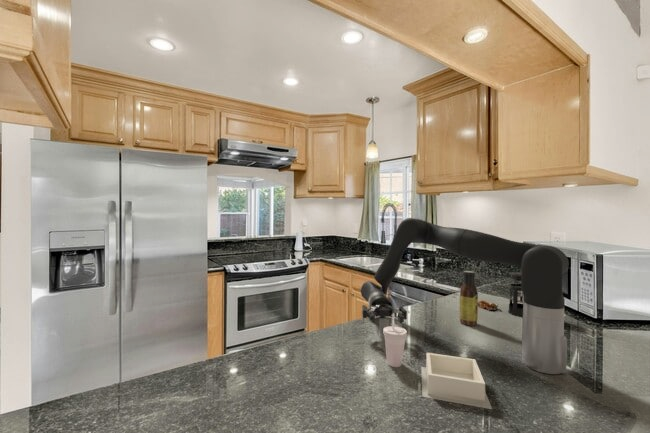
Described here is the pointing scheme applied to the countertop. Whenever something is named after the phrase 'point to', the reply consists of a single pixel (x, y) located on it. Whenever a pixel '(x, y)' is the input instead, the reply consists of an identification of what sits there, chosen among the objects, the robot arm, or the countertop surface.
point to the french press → (515, 296)
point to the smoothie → (394, 343)
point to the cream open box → (454, 378)
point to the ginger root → (487, 305)
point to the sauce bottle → (468, 300)
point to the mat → (425, 394)
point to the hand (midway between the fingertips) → (387, 319)
